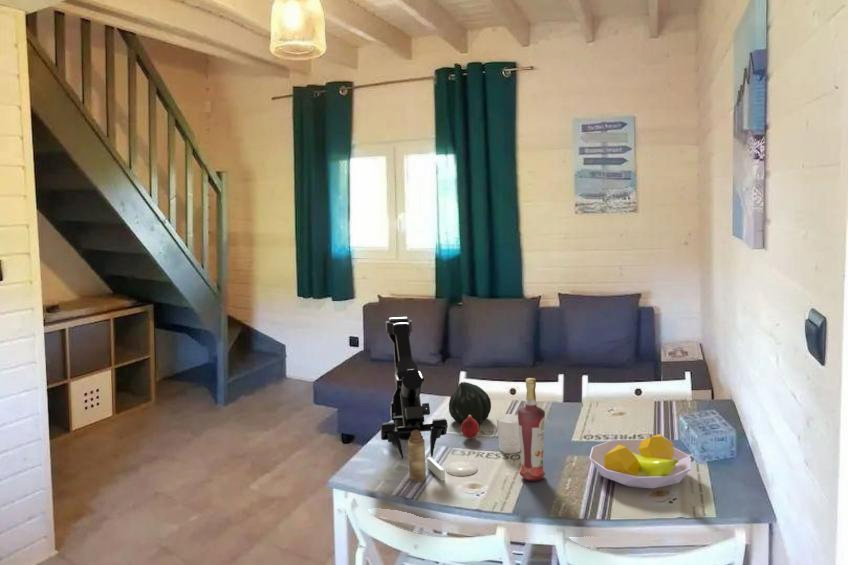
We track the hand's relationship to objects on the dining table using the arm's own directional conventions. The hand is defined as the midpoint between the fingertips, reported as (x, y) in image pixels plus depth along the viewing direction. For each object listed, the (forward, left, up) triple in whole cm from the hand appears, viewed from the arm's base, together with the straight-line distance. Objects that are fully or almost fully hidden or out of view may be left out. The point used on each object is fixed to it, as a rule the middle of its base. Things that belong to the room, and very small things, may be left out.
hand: (417, 457), depth 180 cm
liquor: (+27, +16, -7) cm, 32 cm away
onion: (-2, +34, -7) cm, 35 cm away
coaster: (+7, +12, -7) cm, 15 cm away
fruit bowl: (+53, +29, -7) cm, 61 cm away
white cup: (+13, +32, -7) cm, 35 cm away
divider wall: (+2, +6, -7) cm, 9 cm away
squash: (-10, +49, -7) cm, 50 cm away
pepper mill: (-1, +1, -7) cm, 7 cm away
